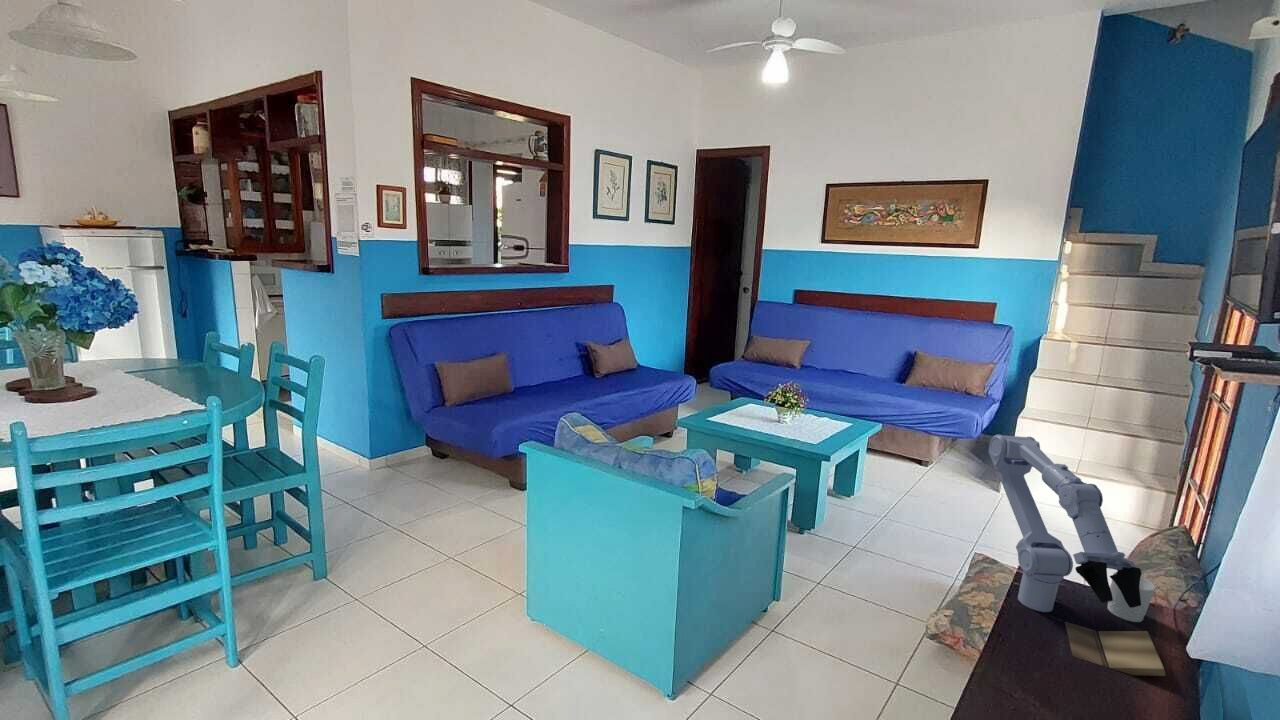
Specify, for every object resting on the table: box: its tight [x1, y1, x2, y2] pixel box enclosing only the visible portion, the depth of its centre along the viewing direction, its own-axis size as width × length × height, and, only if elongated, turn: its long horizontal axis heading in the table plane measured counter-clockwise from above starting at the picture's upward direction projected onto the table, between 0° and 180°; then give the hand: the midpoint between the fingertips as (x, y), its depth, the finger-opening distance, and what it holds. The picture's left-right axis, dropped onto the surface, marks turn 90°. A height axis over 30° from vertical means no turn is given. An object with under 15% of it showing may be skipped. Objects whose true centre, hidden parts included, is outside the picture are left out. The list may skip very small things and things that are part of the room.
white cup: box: [1107, 571, 1156, 623], centre depth 151 cm, size 8×8×10 cm
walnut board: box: [1064, 621, 1108, 668], centre depth 139 cm, size 14×6×2 cm, turn 153°
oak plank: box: [1097, 630, 1167, 677], centre depth 135 cm, size 14×9×2 cm, turn 153°
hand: (1121, 604), depth 128 cm, fingers open, 7 cm apart
